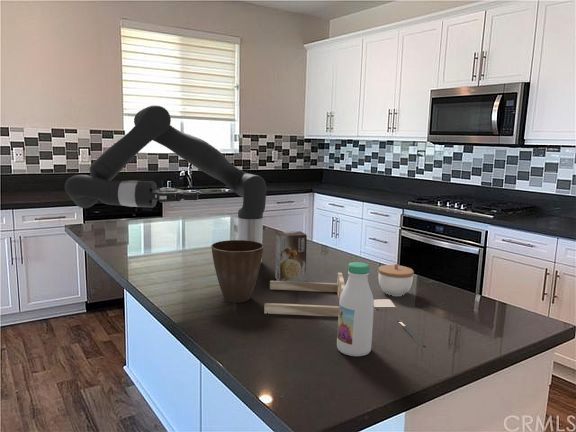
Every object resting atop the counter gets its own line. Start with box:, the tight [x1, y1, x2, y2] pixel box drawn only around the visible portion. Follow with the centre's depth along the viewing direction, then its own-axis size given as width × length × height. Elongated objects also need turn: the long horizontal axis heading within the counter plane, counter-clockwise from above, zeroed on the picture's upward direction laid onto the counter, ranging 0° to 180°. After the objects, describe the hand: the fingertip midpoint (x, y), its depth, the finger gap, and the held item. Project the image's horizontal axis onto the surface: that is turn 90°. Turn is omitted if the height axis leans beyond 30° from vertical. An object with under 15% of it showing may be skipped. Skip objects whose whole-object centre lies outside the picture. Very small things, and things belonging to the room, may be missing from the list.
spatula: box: [373, 298, 421, 342], centre depth 121 cm, size 6×29×2 cm, turn 9°
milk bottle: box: [336, 261, 375, 357], centre depth 103 cm, size 8×8×20 cm
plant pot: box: [211, 239, 264, 304], centre depth 134 cm, size 15×15×16 cm
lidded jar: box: [377, 263, 415, 297], centre depth 143 cm, size 11×11×9 cm
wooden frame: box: [263, 272, 346, 317], centre depth 134 cm, size 21×22×6 cm
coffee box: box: [274, 231, 308, 282], centre depth 153 cm, size 9×6×16 cm
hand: (197, 196), depth 132 cm, fingers closed
